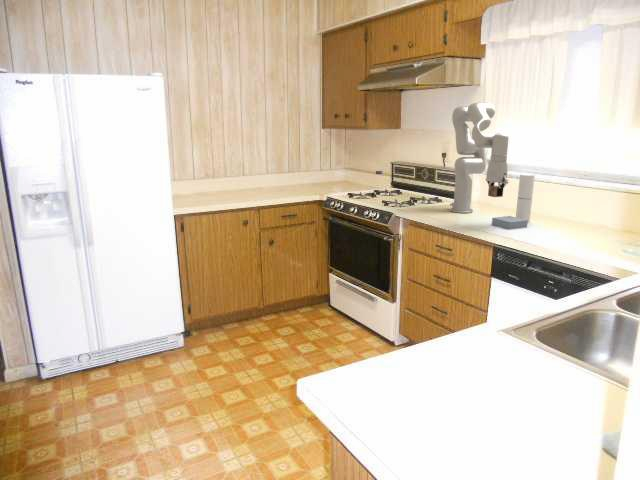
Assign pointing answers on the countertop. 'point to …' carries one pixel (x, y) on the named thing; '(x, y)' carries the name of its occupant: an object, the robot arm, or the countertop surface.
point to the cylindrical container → (525, 196)
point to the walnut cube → (493, 191)
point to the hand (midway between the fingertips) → (495, 194)
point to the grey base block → (509, 222)
